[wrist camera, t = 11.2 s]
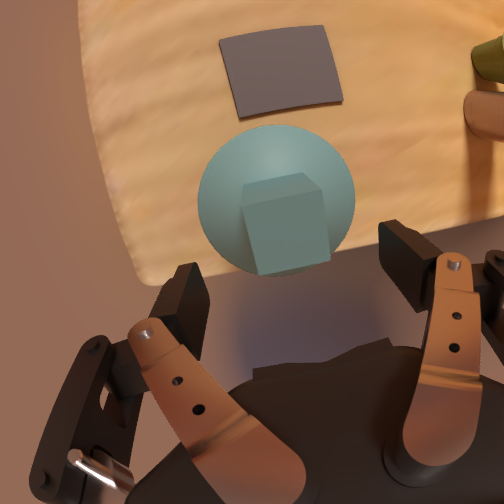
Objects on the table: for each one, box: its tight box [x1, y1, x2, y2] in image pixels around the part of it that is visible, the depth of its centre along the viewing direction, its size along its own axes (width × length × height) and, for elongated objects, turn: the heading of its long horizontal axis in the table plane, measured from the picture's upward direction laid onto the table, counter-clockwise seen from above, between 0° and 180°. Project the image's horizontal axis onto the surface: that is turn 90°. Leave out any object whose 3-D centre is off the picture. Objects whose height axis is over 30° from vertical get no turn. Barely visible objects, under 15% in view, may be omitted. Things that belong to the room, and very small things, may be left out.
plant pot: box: [472, 33, 504, 84], centre depth 21 cm, size 12×12×11 cm
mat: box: [219, 25, 344, 118], centre depth 30 cm, size 15×12×1 cm
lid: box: [198, 125, 355, 276], centre depth 16 cm, size 11×11×6 cm
